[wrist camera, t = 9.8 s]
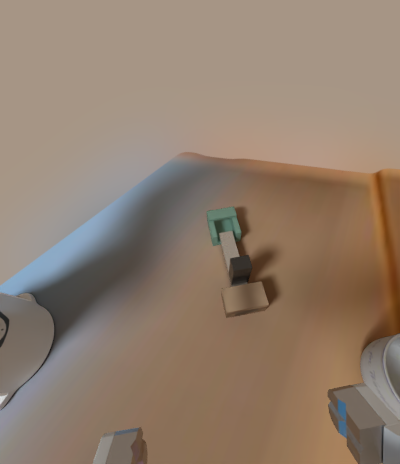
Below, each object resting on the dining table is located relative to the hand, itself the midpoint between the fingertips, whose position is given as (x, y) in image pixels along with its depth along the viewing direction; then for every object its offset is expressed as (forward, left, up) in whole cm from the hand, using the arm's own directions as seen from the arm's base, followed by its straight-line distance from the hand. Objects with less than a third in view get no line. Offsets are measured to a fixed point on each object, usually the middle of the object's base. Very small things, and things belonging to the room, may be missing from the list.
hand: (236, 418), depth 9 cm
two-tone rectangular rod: (+6, +18, -28) cm, 34 cm away
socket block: (+6, +11, -29) cm, 32 cm away
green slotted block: (+6, +28, -29) cm, 41 cm away
